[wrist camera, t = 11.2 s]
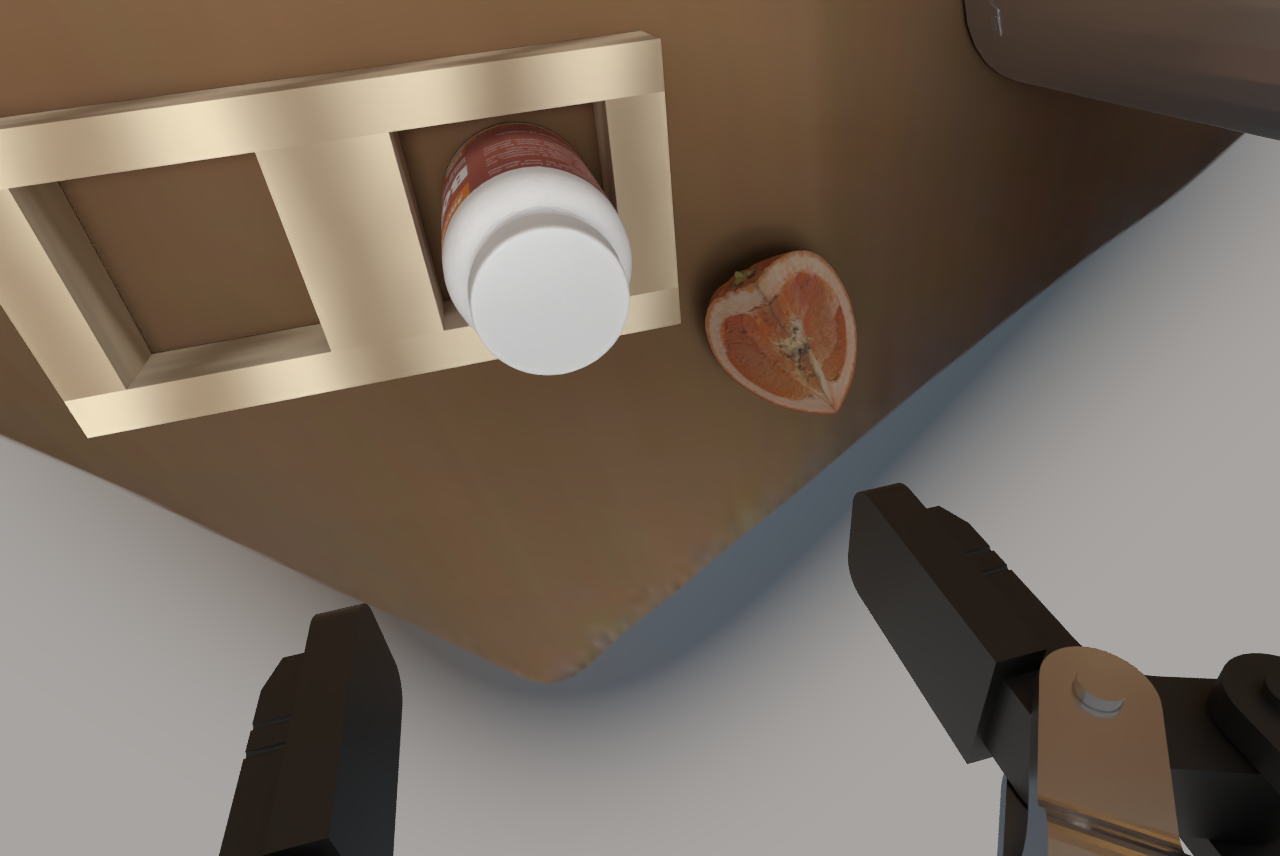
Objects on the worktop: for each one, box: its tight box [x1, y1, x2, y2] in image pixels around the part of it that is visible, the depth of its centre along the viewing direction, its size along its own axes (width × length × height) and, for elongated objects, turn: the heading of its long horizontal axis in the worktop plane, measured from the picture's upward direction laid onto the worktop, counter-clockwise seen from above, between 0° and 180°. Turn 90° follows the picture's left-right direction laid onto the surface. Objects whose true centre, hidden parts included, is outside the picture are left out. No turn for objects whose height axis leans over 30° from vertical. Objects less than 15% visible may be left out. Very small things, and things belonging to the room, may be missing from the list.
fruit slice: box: [705, 250, 857, 414], centre depth 33 cm, size 8×7×5 cm
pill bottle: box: [441, 123, 632, 375], centre depth 25 cm, size 6×6×11 cm
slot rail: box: [0, 31, 681, 438], centre depth 28 cm, size 24×11×3 cm, turn 96°
